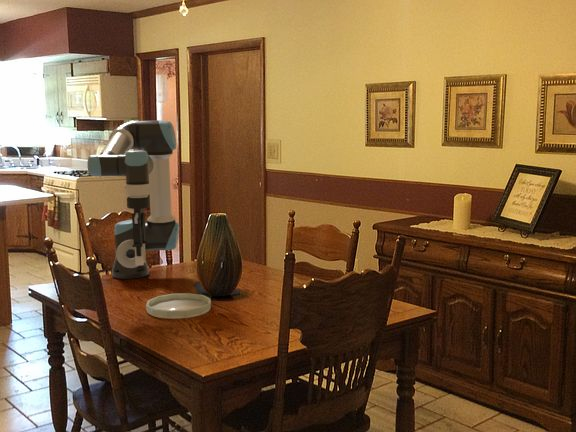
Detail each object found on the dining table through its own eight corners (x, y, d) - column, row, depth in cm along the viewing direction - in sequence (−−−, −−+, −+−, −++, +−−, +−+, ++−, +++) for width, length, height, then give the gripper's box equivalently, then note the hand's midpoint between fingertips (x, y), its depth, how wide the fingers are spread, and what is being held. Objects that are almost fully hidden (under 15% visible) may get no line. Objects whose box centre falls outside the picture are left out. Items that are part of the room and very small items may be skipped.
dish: (150, 301, 246) (150, 294, 246) (211, 299, 248) (211, 292, 248) (143, 319, 225) (143, 312, 224) (209, 317, 226) (209, 310, 226)
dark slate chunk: (229, 282, 274) (229, 271, 274) (240, 296, 253) (240, 284, 253) (192, 285, 270) (191, 273, 270) (200, 299, 249) (199, 287, 249)
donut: (146, 265, 235) (145, 237, 233) (146, 268, 232) (145, 239, 230) (116, 267, 233) (115, 239, 231) (116, 270, 229) (115, 241, 228)
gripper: (130, 193, 237) (133, 258, 241) (122, 199, 220) (125, 269, 224) (152, 193, 237) (154, 258, 241) (145, 199, 221) (148, 269, 225)
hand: (140, 263), depth 233 cm, fingers closed on donut, 4 cm apart
